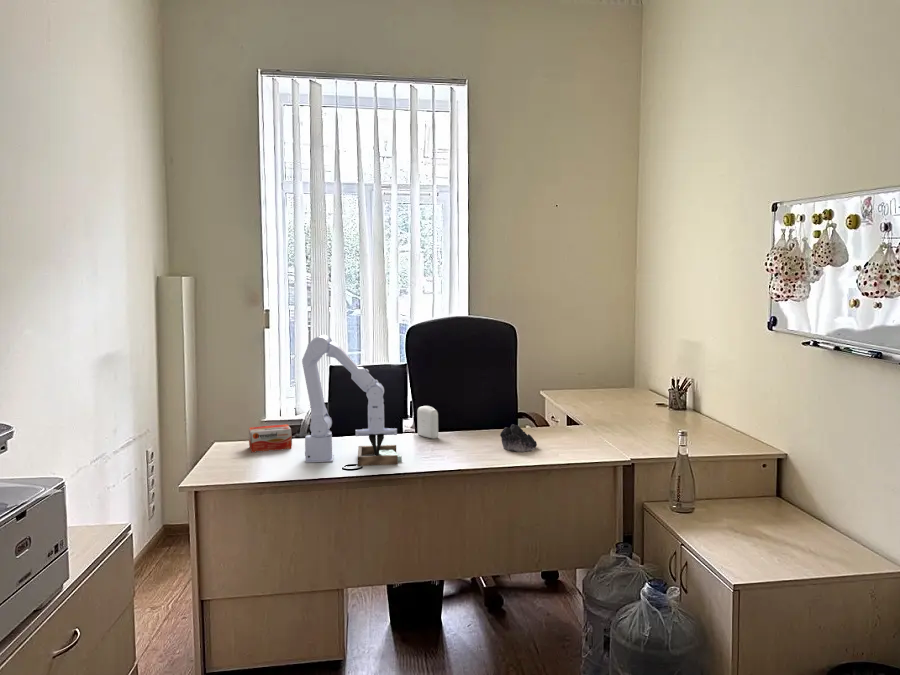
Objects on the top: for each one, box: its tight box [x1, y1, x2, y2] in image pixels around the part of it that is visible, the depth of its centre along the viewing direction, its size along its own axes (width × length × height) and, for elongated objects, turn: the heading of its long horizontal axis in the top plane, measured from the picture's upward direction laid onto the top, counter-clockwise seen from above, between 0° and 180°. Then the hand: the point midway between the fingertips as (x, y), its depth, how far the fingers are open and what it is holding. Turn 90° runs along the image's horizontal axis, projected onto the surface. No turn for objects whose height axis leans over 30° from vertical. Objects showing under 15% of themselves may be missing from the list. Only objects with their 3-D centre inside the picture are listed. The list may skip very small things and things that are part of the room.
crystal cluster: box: [499, 423, 538, 453], centre depth 263 cm, size 13×14×10 cm
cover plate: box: [379, 449, 403, 463], centre depth 249 cm, size 6×11×2 cm, turn 23°
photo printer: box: [416, 405, 439, 439], centre depth 282 cm, size 10×4×12 cm, turn 39°
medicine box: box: [248, 424, 293, 453], centre depth 264 cm, size 15×8×8 cm, turn 111°
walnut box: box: [357, 444, 399, 467], centre depth 248 cm, size 14×15×3 cm
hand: (376, 455), depth 248 cm, fingers closed
